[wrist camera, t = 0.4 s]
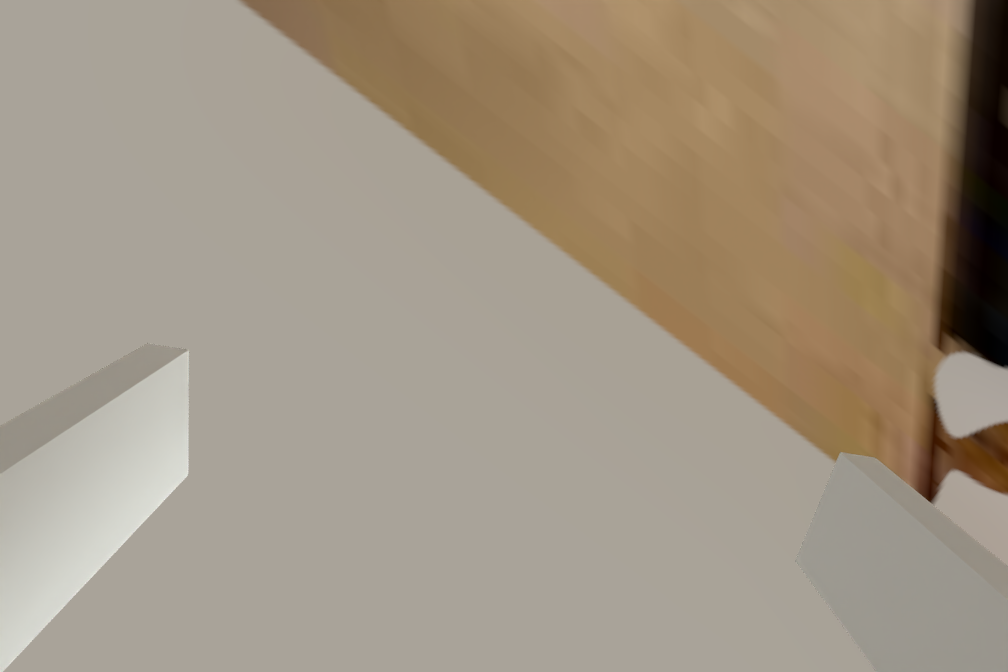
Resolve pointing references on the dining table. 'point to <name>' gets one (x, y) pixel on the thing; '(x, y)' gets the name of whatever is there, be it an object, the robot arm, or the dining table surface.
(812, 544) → the robot arm
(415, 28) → the dining table surface
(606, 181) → the dining table surface
